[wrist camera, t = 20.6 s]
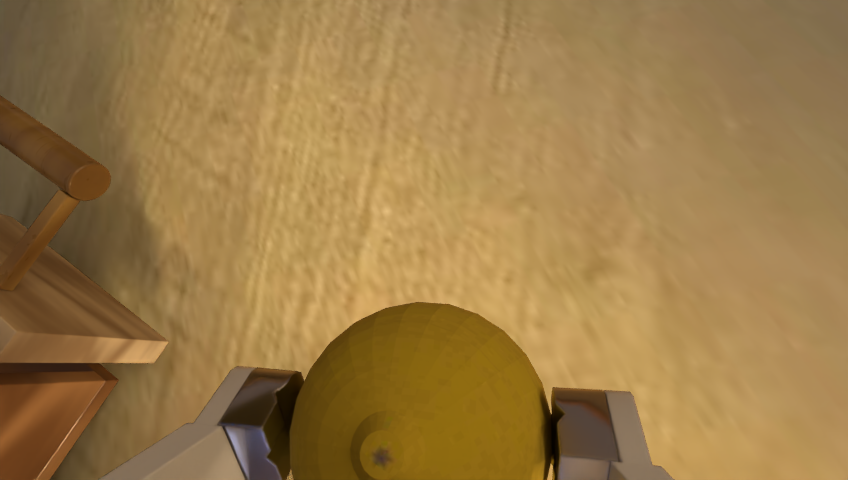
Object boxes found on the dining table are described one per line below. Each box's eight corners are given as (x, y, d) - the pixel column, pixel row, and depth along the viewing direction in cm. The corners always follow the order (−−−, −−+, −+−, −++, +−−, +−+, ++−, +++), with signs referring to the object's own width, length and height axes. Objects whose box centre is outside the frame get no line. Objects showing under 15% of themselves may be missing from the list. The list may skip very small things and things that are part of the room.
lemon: (347, 489, 15) (167, 620, 7) (379, 309, 16) (257, 253, 8) (531, 531, 13) (558, 744, 6) (550, 333, 15) (590, 295, 7)
